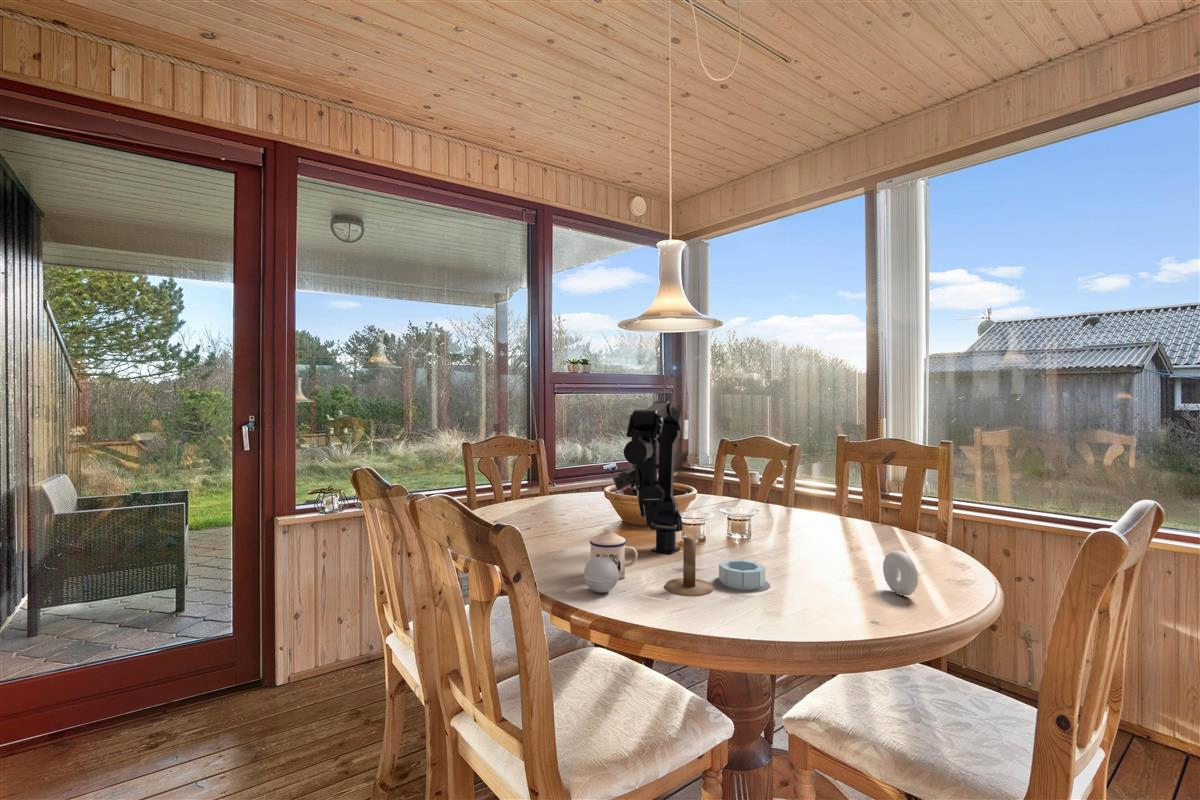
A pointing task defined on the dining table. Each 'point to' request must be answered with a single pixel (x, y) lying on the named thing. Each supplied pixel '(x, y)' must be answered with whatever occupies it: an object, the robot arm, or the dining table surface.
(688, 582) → the lid
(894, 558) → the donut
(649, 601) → the dining table surface
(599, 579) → the bath bomb
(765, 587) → the trivet
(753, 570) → the bowl
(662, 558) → the dining table surface
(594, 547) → the teacup with lid
